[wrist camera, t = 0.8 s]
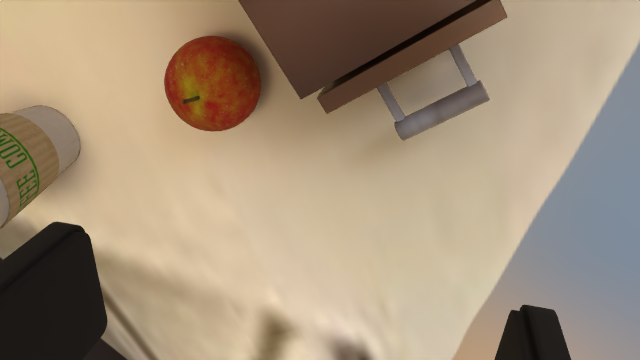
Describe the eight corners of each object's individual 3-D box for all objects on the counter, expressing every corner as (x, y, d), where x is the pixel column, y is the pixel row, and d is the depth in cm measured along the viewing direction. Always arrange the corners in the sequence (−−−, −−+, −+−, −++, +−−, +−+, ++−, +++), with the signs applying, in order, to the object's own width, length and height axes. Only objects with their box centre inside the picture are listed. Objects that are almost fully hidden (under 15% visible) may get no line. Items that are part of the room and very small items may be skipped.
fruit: (280, 44, 37) (245, 71, 30) (262, 123, 41) (227, 164, 34) (197, 16, 38) (143, 36, 31) (186, 97, 41) (136, 132, 34)
